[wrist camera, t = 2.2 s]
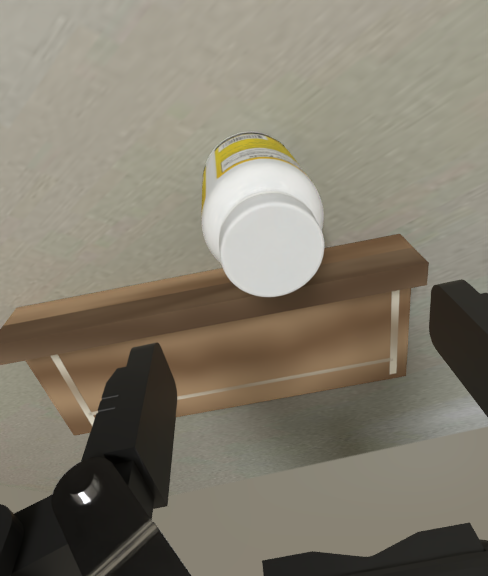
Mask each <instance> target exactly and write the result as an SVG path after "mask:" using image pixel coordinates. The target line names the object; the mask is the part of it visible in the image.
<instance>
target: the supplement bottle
mask: <svg viewBox="0 0 488 576" xmlns="http://www.w3.org/2000/svg"><path fill="white" fill-rule="evenodd" d="M201 222H202V230H203V235H204V239H205V241H206V244H207V246H208V248H209V250H210V251H211V253H212V254H213V256H214V257H215V258H216V259H217V260H218V261H219V262H220V263H221V264H222V267H223V270H224V272H225V274H226V275H227V277H228V278H229V280H230V281H231V282H232V283H233V284H234V285H235V286H237V287H238V288H239V289H241V290H242V291H244V292H247V293H249V294H252V295H255V296H260V297H276V296H282V295H286V294H289V293H291V292H293V291H295V290H297V289H299V288H300V287H302V286H303V285H305V284H306V283H307V282H308V281H309V280H310V279H311V278H312V277H313V276H314V274H315V273H316V272H317V270H318V268H319V267H320V264H321V262H322V259H323V255H324V237H323V233H322V229H323V222H324V212H323V205H322V201H321V198H320V195H319V193H318V191H317V189H316V187H315V186H314V184H313V182H312V181H311V180H310V178H309V177H308V176H307V174H306V173H305V172H304V170H303V169H302V168H301V167H300V165H299V164H298V163H297V162H296V160H295V159H294V158H293V156H292V155H291V154H290V153H289V151H288V150H287V149H286V148H285V146H284V145H282V144H281V143H280V142H279V141H277V140H276V139H274V138H273V137H271V136H269V135H266V134H263V133H259V132H241V133H238V134H234V135H232V136H230V137H228V138H226V139H224V140H223V141H222V142H220V143H219V144H218V145H217V146H216V147H215V148H214V150H213V151H212V152H211V154H210V155H209V157H208V159H207V162H206V164H205V168H204V173H203V181H202V217H201Z"/></svg>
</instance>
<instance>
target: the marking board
mask: <svg viewBox="0 0 488 576" xmlns="http://www.w3.org/2000/svg"><path fill="white" fill-rule="evenodd" d="M428 265H429V263H428V262H427V261H426V260H425V259H424V258H423V257H422V256H421V255H420V254H419V253H418V252H417V251H416V250H415V249H414V248H413V247H412V246H411V245H410V243H409V242H408V241H407V240H406V239H405V238H404V237H403V236H402V235H401V234H396V235H391V236H386V237H381V238H376V239H370V240H365V241H360V242H355V243H350V244H345V245H339V246H334V247H329V248H324V255H323V259H322V262H321V264H320V267H319V268H318V270H317V272H316V273H315V274H314V276H313V277H312V278H311V279H310V280H309V281H308V282H307V283H306V284H305V285H303V286H302V287H300V288H299V289H297V290H295V291H293V292H291V293H289V294H286V295H282V296H276V297H260V296H255V295H252V294H249V293H247V292H244V291H242V290H241V289H239V288H238V287H237V286H235V285H234V284H233V283H232V282H231V281H230V280H229V278H228V277H227V275H226V274H225V272H224V270H223V268H220V269H215V270H210V271H205V272H200V273H194V274H189V275H184V276H179V277H174V278H169V279H163V280H158V281H153V282H148V283H143V284H138V285H132V286H127V287H122V288H117V289H112V290H106V291H101V292H96V293H91V294H86V295H81V296H75V297H70V298H65V299H60V300H55V301H50V302H44V303H39V304H34V305H29V306H24V307H18V308H16V309H15V311H14V312H13V313H12V315H11V316H10V317H9V319H8V320H7V321H6V323H5V324H4V325H3V327H2V328H1V329H0V365H3V364H9V363H14V362H19V361H26V362H27V364H28V365H29V367H30V368H31V370H32V371H33V373H34V374H35V376H36V377H37V379H38V381H39V382H40V384H41V385H42V387H43V388H44V390H45V391H46V393H47V394H48V396H49V398H50V399H51V401H52V402H53V404H54V405H55V407H56V408H57V410H58V411H59V413H60V415H61V416H62V418H63V419H64V421H65V422H66V424H67V425H68V427H69V428H70V430H71V432H72V433H73V435H80V434H85V433H90V432H91V429H92V426H93V423H94V419H95V416H96V413H98V407H99V404H100V401H101V400H102V398H101V397H102V394H103V391H104V388H105V385H106V382H107V381H108V380H109V378H110V377H111V376H112V374H113V373H114V372H115V371H116V369H117V368H121V367H126V365H127V362H128V358H129V354H130V351H131V349H132V348H133V347H137V346H142V345H147V344H152V343H156V342H157V343H159V344H160V346H161V348H162V350H163V353H164V355H165V358H166V360H167V363H168V365H169V368H170V370H171V373H172V375H173V377H174V380H175V384H176V388H177V409H176V417H180V416H185V415H191V414H196V413H202V412H207V411H213V410H219V409H224V408H230V407H235V406H241V405H246V404H252V403H257V402H263V401H269V400H274V399H280V398H285V397H291V396H296V395H302V394H308V393H313V392H319V391H324V390H330V389H335V388H341V387H346V386H352V385H358V384H363V383H369V382H374V381H380V380H385V379H391V378H397V377H402V376H406V365H407V347H408V330H409V313H410V295H411V288H413V287H419V286H424V285H427V277H428Z"/></svg>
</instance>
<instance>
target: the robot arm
mask: <svg viewBox="0 0 488 576" xmlns="http://www.w3.org/2000/svg"><path fill="white" fill-rule="evenodd" d="M429 332H430V337H431V340H432V343H433V345H434V347H435V348H436V350H437V351H438V353H439V354H440V355H441V356H442V358H443V359H444V360H445V362H446V363H447V364H448V366H449V367H450V368H451V370H452V371H453V372H454V373H455V375H456V376H457V377H458V379H459V380H460V381H461V383H462V384H463V385H464V387H465V388H466V389H467V391H468V392H469V393H470V394H471V396H472V397H473V398H474V400H475V401H476V402H477V404H478V405H479V406H480V408H481V409H482V410H483V411H484V413H485V414H486V415H487V417H488V293H483V294H480V293H478V292H477V291H476V290H475V289H474V288H473V287H472V286H471V285H469V284H468V283H467V282H466V281H464V280H457V281H452V282H447V283H443V284H438V285H434V286H433V288H432V290H431V304H430V322H429ZM101 398H102V400H101V401H100V404H99V407H98V413H96V416H95V419H94V423H93V426H92V429H91V432H90V435H89V438H88V442H87V445H86V448H85V451H84V454H83V457H82V460H81V462H79V463H78V464H76V465H75V466H73V467H72V468H71V469H69V470H68V471H67V472H66V473H65V474H64V475H63V476H62V478H61V479H60V480H59V482H58V483H57V485H56V487H55V489H54V491H53V494H52V495H50V496H49V497H47V498H45V499H43V500H41V501H39V502H37V503H35V504H33V505H31V506H29V507H27V508H25V509H23V510H21V511H19V512H17V513H15V514H13V513H12V512H11V511H10V510H9V508H8V507H6V506H4V505H1V504H0V576H191V574H190V573H189V572H188V570H187V569H186V567H185V566H184V564H183V563H182V562H181V560H180V558H179V557H178V556H177V554H176V553H175V551H174V550H173V548H172V547H171V546H170V544H169V543H168V541H167V540H166V538H165V537H164V535H163V534H162V533H161V531H160V530H159V528H158V527H157V526H156V524H155V523H154V522H152V512H153V509H155V508H160V507H165V506H167V504H168V493H169V483H170V472H171V462H172V451H173V441H174V430H175V420H176V409H177V388H176V384H175V380H174V377H173V375H172V373H171V370H170V368H169V365H168V363H167V360H166V358H165V355H164V353H163V350H162V348H161V346H160V344H159V343H157V342H156V343H152V344H147V345H142V346H137V347H133V348H132V349H131V351H130V354H129V358H128V362H127V365H126V367H121V368H117V369H116V371H115V372H114V373H113V374H112V376H111V377H110V378H109V380H108V381H107V382H106V385H105V388H104V391H103V394H102V397H101ZM262 563H263V572H264V576H488V541H487V540H479V538H478V537H477V535H476V533H475V531H474V529H473V528H472V526H471V524H470V523H465V524H459V525H454V526H449V527H443V528H437V529H432V530H427V531H421V532H417V533H415V534H413V535H412V536H410V537H408V538H406V539H404V540H402V541H400V542H398V543H396V544H395V545H393V546H391V547H389V548H387V549H385V550H384V551H381V552H380V553H378V554H376V555H373V556H370V557H359V556H350V555H341V554H332V553H321V552H307V553H302V554H296V555H290V556H285V557H280V558H274V559H269V560H263V561H262Z"/></svg>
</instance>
